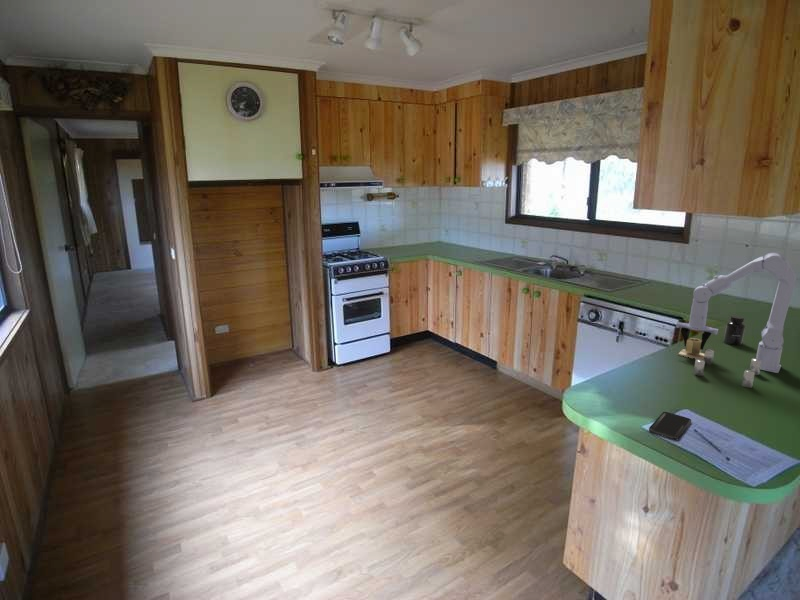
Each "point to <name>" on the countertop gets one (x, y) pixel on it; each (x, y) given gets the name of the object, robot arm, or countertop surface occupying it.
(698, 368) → the steel spacers
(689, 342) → the brass nut
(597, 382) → the countertop surface
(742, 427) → the countertop surface
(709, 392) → the countertop surface
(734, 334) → the supplement bottle
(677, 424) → the phone
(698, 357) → the oak pad
